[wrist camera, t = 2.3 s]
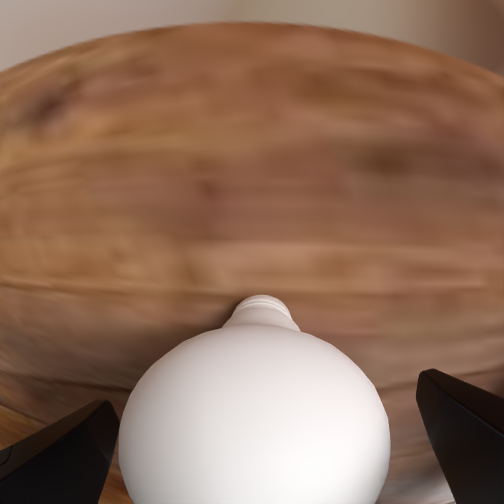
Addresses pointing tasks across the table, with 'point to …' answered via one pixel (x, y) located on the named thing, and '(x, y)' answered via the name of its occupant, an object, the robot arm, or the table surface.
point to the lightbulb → (254, 419)
